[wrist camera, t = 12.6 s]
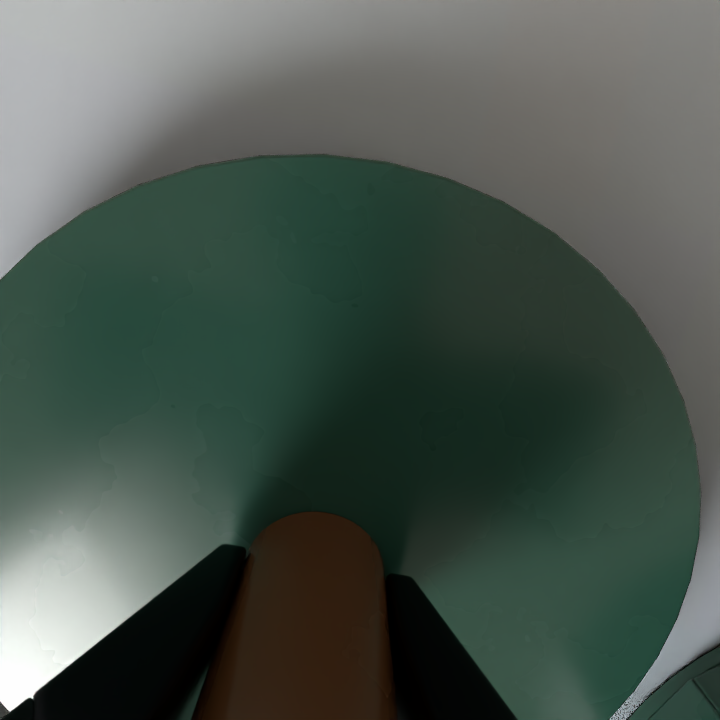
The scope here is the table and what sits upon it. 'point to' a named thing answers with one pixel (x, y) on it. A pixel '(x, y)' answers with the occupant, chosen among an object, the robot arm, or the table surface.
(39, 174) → the table surface
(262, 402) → the pot lid
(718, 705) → the pot
